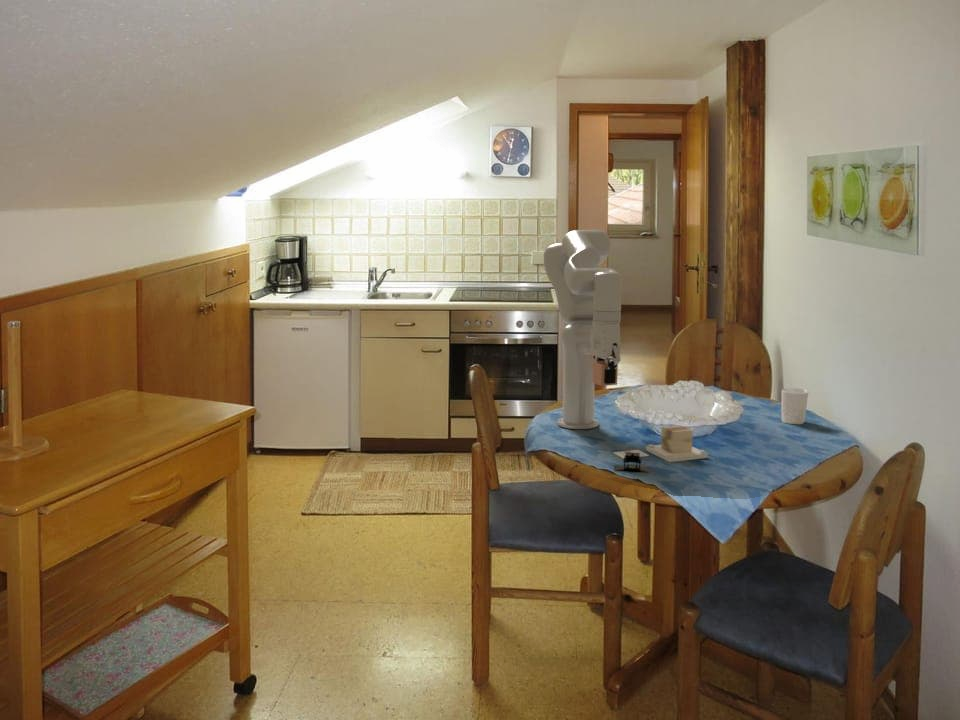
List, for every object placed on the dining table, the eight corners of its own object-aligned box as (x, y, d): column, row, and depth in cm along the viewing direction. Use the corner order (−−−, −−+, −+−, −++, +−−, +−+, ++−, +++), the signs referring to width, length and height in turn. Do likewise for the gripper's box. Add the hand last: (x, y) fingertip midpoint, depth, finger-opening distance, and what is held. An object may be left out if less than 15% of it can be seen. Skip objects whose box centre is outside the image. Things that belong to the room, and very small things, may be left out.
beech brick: (661, 448, 264) (661, 427, 263) (679, 445, 266) (680, 425, 265) (672, 453, 258) (673, 432, 257) (691, 451, 260) (692, 430, 259)
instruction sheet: (612, 453, 263) (612, 452, 263) (638, 450, 266) (638, 449, 266) (623, 458, 258) (623, 458, 257) (649, 455, 260) (649, 455, 260)
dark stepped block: (607, 474, 246) (607, 456, 246) (608, 466, 254) (608, 449, 253) (656, 476, 244) (656, 458, 244) (655, 467, 252) (656, 450, 251)
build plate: (646, 450, 266) (646, 444, 265) (682, 446, 270) (683, 440, 270) (669, 462, 255) (669, 456, 254) (707, 457, 259) (707, 451, 259)
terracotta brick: (592, 382, 266) (593, 361, 265) (608, 381, 268) (608, 360, 267) (601, 386, 262) (601, 364, 261) (617, 384, 264) (617, 363, 263)
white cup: (774, 419, 301) (776, 388, 299) (795, 418, 303) (798, 387, 301) (789, 425, 293) (791, 394, 291) (811, 424, 295) (813, 392, 294)
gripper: (580, 313, 268) (578, 376, 271) (609, 321, 252) (607, 388, 256) (604, 311, 271) (602, 374, 274) (634, 320, 255) (632, 386, 258)
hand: (604, 380), depth 265 cm, fingers closed on terracotta brick, 5 cm apart
